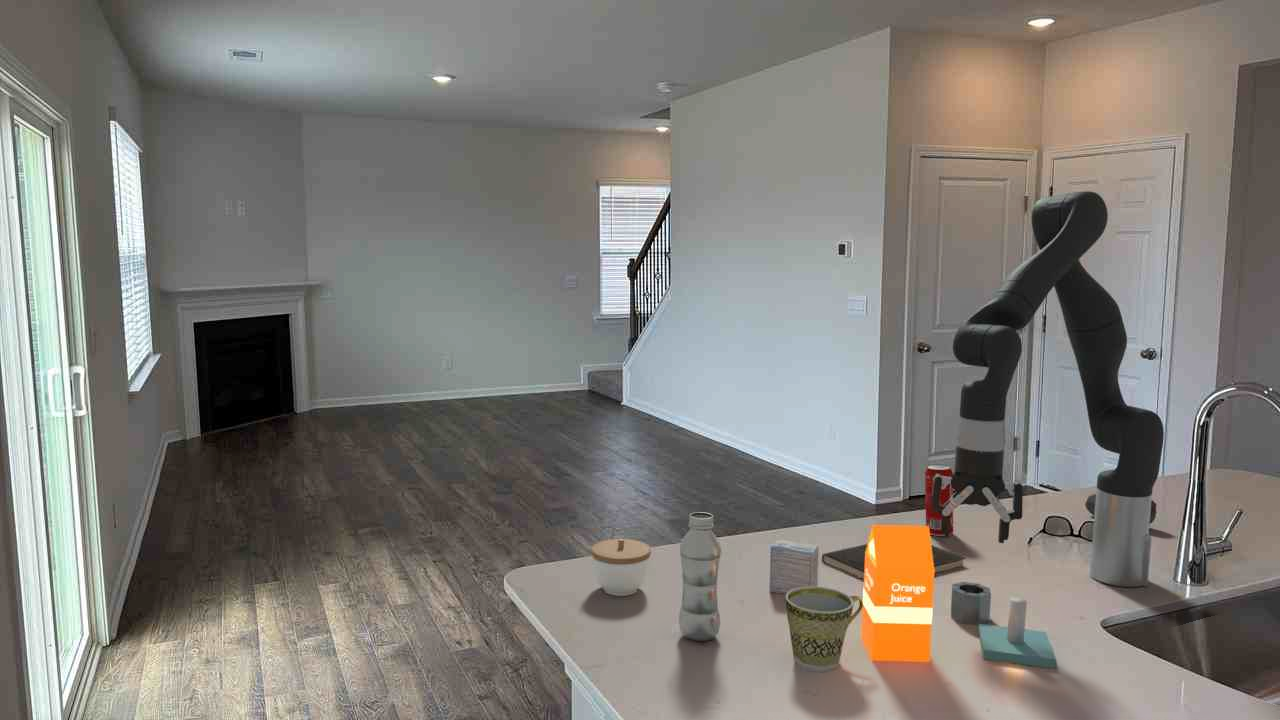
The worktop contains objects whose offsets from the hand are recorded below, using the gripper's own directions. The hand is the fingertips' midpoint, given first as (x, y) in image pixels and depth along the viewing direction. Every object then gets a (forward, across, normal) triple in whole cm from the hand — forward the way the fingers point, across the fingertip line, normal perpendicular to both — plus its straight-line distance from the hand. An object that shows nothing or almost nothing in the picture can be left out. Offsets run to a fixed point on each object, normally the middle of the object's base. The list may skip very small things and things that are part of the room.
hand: (973, 539), depth 151 cm
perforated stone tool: (+14, -36, -68) cm, 78 cm away
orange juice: (+14, +12, +17) cm, 25 cm away
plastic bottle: (+14, +42, +22) cm, 49 cm away
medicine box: (+14, +30, -2) cm, 33 cm away
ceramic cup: (+14, +22, +24) cm, 35 cm away
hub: (+14, 0, 0) cm, 14 cm away
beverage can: (+14, +4, -46) cm, 48 cm away
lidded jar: (+14, +60, +7) cm, 62 cm away
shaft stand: (+14, -6, +11) cm, 19 cm away
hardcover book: (+14, +13, -23) cm, 30 cm away
